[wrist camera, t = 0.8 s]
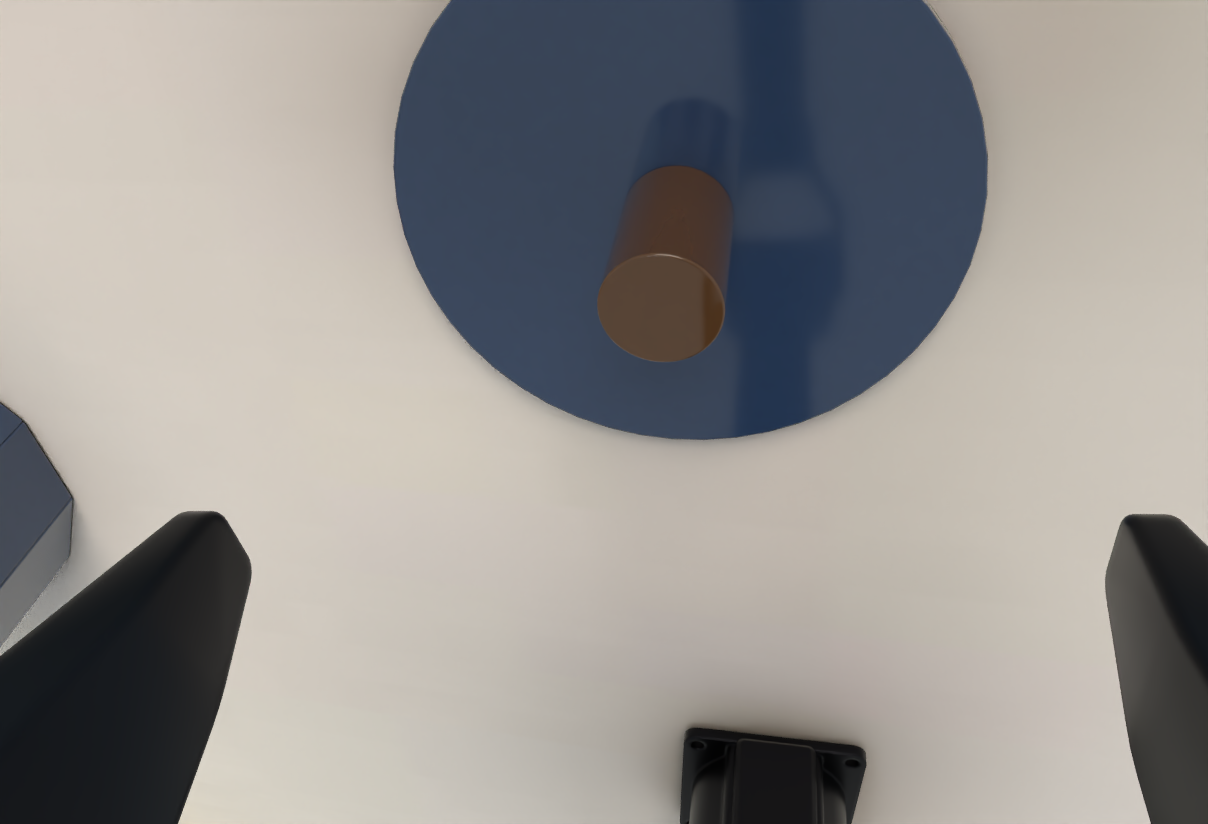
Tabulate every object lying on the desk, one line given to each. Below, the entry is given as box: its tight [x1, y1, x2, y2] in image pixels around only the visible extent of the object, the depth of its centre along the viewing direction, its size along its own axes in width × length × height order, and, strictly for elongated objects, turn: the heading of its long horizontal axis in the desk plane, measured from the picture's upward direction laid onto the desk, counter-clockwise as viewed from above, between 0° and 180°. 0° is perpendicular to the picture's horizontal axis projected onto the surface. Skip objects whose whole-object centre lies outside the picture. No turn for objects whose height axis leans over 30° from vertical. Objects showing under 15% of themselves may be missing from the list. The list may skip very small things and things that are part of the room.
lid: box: [393, 0, 988, 440], centre depth 22 cm, size 14×14×5 cm
